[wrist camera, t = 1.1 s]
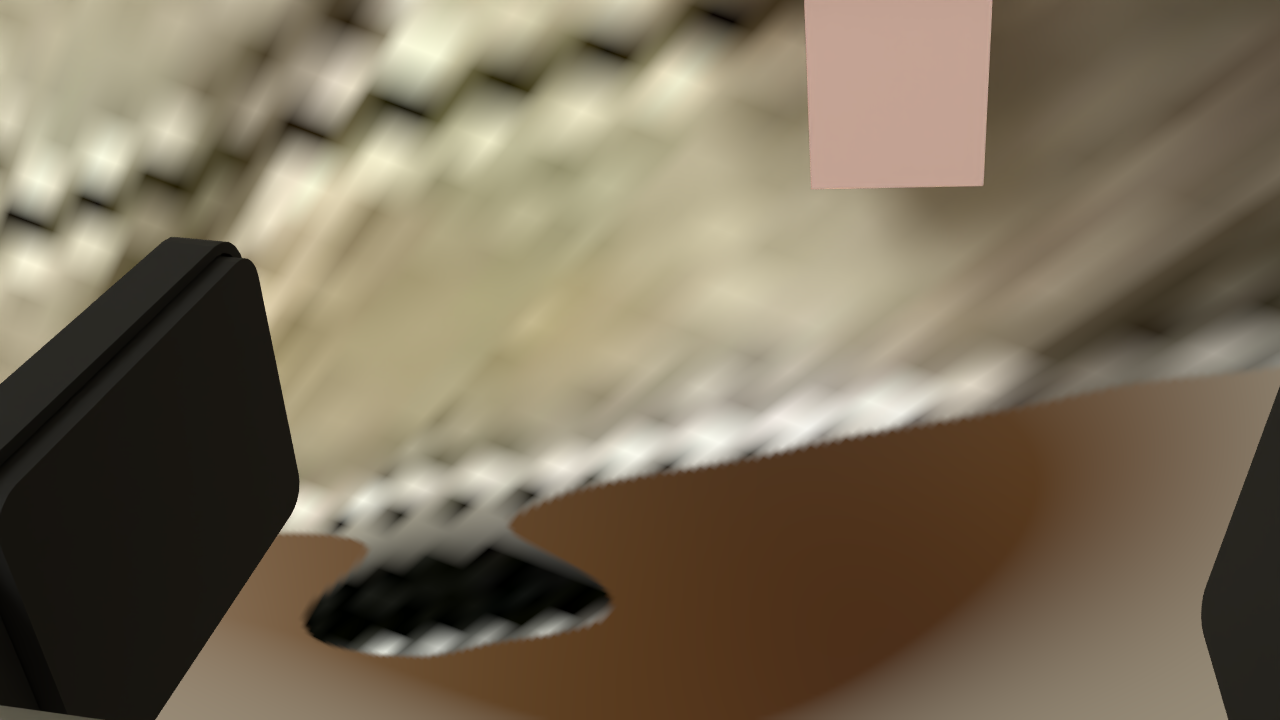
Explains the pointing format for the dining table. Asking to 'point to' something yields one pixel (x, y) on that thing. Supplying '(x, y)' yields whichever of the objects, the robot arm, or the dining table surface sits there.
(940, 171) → the tray
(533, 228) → the dining table surface
